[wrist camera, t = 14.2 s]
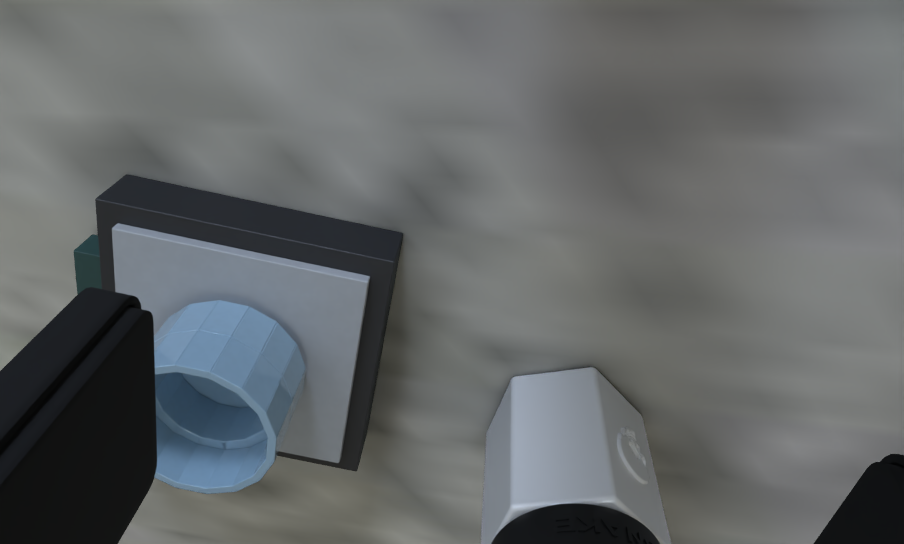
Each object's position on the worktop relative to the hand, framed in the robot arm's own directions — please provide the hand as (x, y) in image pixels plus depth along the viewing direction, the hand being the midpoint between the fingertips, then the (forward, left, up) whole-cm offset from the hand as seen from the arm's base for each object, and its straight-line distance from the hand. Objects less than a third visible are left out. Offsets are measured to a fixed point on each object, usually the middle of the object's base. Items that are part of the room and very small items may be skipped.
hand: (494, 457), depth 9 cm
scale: (+17, -10, -24) cm, 31 cm away
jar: (+20, +8, -24) cm, 33 cm away
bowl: (+17, -10, -21) cm, 29 cm away
